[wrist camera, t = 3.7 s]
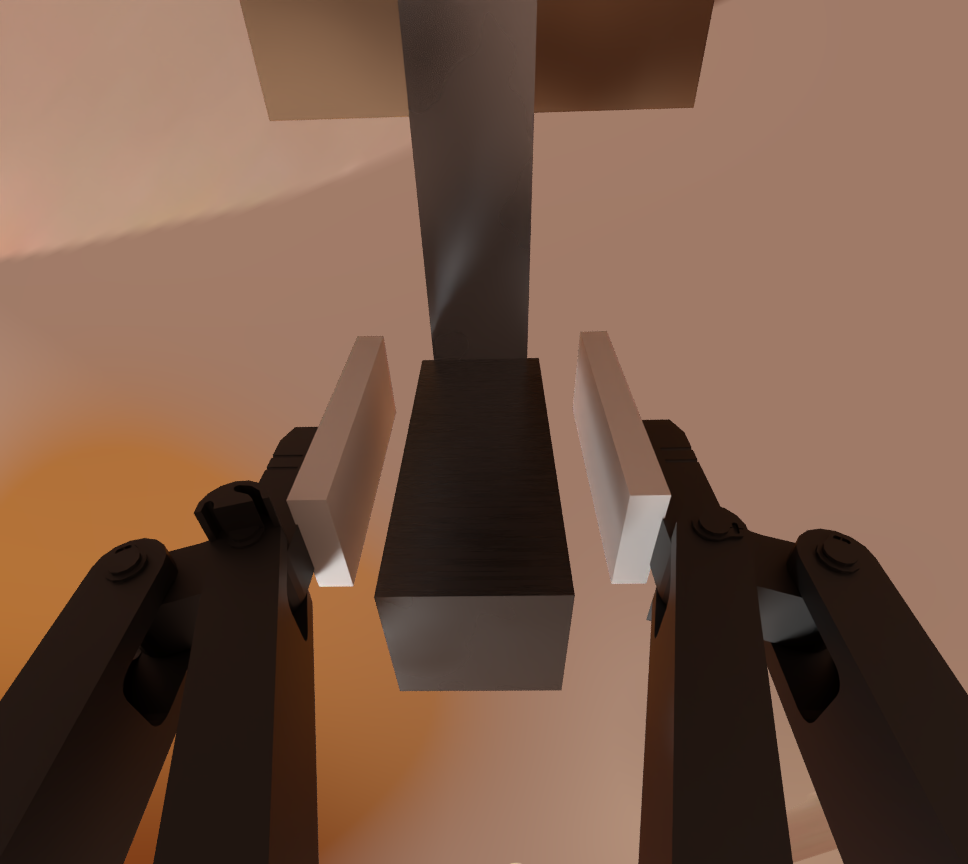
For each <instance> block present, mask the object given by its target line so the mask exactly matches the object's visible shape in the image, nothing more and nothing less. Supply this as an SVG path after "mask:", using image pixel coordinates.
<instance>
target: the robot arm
mask: <svg viewBox="0 0 968 864" xmlns="http://www.w3.org/2000/svg"><path fill="white" fill-rule="evenodd" d="M573 413H574V417H575V421H576V426H577V431H578V435H579V440H580V444H581V449H582V453H583V458H584V462H585V467H586V471H587V476H588V480H589V485H590V489H591V494H592V498H593V503H594V507H595V512H596V516H597V521H598V526H599V530H600V534H601V539H602V544H603V548H604V553H605V557H606V562H607V566H608V571H609V575H610V579H611V584H636V583H641V584H642V583H646V582H647V579H648V575H649V572H650V568H651V570H652V574H653V577H654V580H655V583H656V590H655V594H654V597H653V600H652V603H651V606H650V610H649V613H648V616H647V620H649V621H651V639H650V657H649V675H648V695H647V713H646V731H645V732H646V733H645V752H644V769H643V787H642V806H641V826H640V844H639V863H638V864H793V861H792V853H791V845H790V838H789V830H788V823H787V815H786V807H785V800H784V792H783V784H782V777H781V770H780V761H779V754H778V747H777V739H776V731H775V723H774V716H773V708H772V700H771V694H770V686H769V677H768V670H767V667H768V669H769V672H770V674H771V677H772V680H773V682H774V685H775V687H776V690H777V692H778V695H779V698H780V700H781V703H782V705H783V708H784V711H785V713H786V716H787V718H788V721H789V724H790V726H791V729H792V731H793V734H794V737H795V739H796V741H797V744H798V747H799V749H800V752H801V754H802V757H803V760H804V762H805V765H806V767H807V770H808V773H809V775H810V778H811V780H812V783H813V785H814V788H815V791H816V793H817V796H818V798H819V801H820V804H821V806H822V809H823V811H824V814H825V817H826V819H827V822H828V824H829V827H830V829H831V832H832V835H833V837H834V840H835V842H836V845H837V848H838V850H839V852H840V855H841V858H842V860H843V863H844V864H968V695H967V693H966V691H965V690H964V689H963V687H962V686H961V684H960V683H959V681H958V680H957V678H956V677H955V675H954V674H953V672H952V671H951V669H950V668H949V666H948V665H947V663H946V662H945V660H944V659H943V657H942V656H941V654H940V653H939V652H938V650H937V648H936V647H935V645H934V644H933V643H932V641H931V639H930V638H929V637H928V635H927V634H926V632H925V631H924V629H923V628H922V626H921V625H920V623H919V622H918V620H917V619H916V617H915V616H914V614H913V613H912V611H911V610H910V608H909V607H908V605H907V604H906V602H905V601H904V599H903V598H902V596H901V595H900V594H899V592H898V590H897V589H896V588H895V586H894V584H893V583H892V582H891V580H890V579H889V577H888V576H887V574H886V573H885V571H884V570H883V568H882V567H881V565H880V564H879V562H878V561H877V559H876V558H875V557H874V556H873V555H872V554H871V553H870V551H869V550H868V549H867V548H866V547H865V546H863V545H862V544H860V543H859V542H857V541H856V540H854V539H853V538H851V537H849V536H847V535H844V534H841V533H839V532H836V531H831V530H825V529H814V530H808V531H806V532H804V533H803V534H801V535H800V536H799V537H798V539H797V541H796V543H793V542H789V541H785V540H780V539H776V538H772V537H768V536H763V535H760V534H757V533H754V532H751V531H749V530H748V529H747V527H746V525H745V524H744V523H743V522H742V521H741V520H740V518H739V517H738V516H737V515H735V514H733V513H732V512H730V511H728V510H727V509H725V508H722V507H720V505H719V503H718V501H717V499H716V497H715V494H714V492H713V490H712V488H711V486H710V484H709V482H708V480H707V478H706V476H705V474H704V472H703V470H702V468H701V466H700V464H699V462H697V458H696V456H695V453H694V451H693V450H691V446H690V443H689V441H688V439H687V437H686V435H685V433H684V432H683V431H682V430H681V429H680V428H679V427H677V426H676V425H675V424H674V423H673V422H672V421H670V420H642V419H641V417H640V414H639V412H638V409H637V407H636V404H635V402H634V399H633V397H632V394H631V392H630V389H629V386H628V384H627V382H626V379H625V376H624V374H623V371H622V369H621V366H620V364H619V361H618V358H617V356H616V354H615V351H614V348H613V346H612V343H611V341H610V338H609V336H608V333H607V331H599V332H580V340H579V350H578V360H577V371H576V381H575V391H574V401H573ZM395 414H396V409H395V403H394V397H393V391H392V385H391V379H390V373H389V367H388V361H387V355H386V349H385V343H384V337H383V336H360V337H357V339H356V341H355V344H354V346H353V348H352V350H351V353H350V355H349V357H348V360H347V362H346V364H345V366H344V369H343V371H342V374H341V376H340V378H339V380H338V383H337V385H336V387H335V390H334V392H333V394H332V397H331V399H330V401H329V403H328V406H327V408H326V410H325V413H324V415H323V417H322V420H321V422H320V424H319V426H318V427H295V428H294V429H293V430H292V431H291V432H289V433H288V434H287V435H286V436H285V437H284V438H283V439H282V440H280V442H279V444H278V446H277V448H276V450H275V452H274V454H273V458H271V460H270V462H269V464H268V466H267V470H265V472H264V474H263V475H262V478H261V479H260V481H259V483H257V482H253V481H249V480H248V481H235V482H232V483H229V484H226V485H223V486H220V487H219V488H217V489H215V490H213V491H212V492H210V493H208V494H207V496H205V497H204V498H203V499H202V500H201V501H200V502H199V503H198V505H197V507H196V509H195V512H194V514H195V516H196V518H197V520H198V521H199V523H200V525H201V527H202V529H203V530H204V532H205V534H206V536H207V537H208V539H209V541H206V542H203V543H200V544H197V545H193V546H189V547H185V548H181V549H177V550H174V551H170V552H168V550H167V549H166V547H165V546H164V544H162V543H161V542H159V541H158V540H155V539H147V538H143V539H139V540H133V541H129V542H127V543H124V544H122V545H120V546H117V547H115V548H114V549H112V550H111V551H109V552H108V553H107V554H105V555H103V556H102V557H101V558H100V559H99V560H98V561H97V562H96V564H95V565H94V566H93V567H92V568H91V570H90V571H89V572H88V574H87V576H86V577H85V578H84V580H83V581H82V582H81V584H80V585H79V587H78V588H77V590H76V591H75V593H74V594H73V596H72V597H71V599H70V600H69V602H68V603H67V604H66V606H65V608H64V609H63V610H62V612H61V613H60V615H59V616H58V618H57V619H56V620H55V622H54V623H53V625H52V626H51V628H50V629H49V631H48V632H47V634H46V635H45V637H44V638H43V639H42V641H41V642H40V644H39V645H38V647H37V648H36V650H35V651H34V653H33V654H32V655H31V657H30V659H29V660H28V661H27V663H26V664H25V666H24V667H23V669H22V670H21V672H20V673H19V675H18V676H17V678H16V679H15V680H14V682H13V683H12V685H11V686H10V688H9V689H8V691H7V692H6V693H5V695H4V697H3V698H2V699H1V701H0V864H123V863H124V861H125V858H126V856H127V853H128V851H129V848H130V846H131V843H132V841H133V838H134V836H135V833H136V831H137V828H138V826H139V823H140V821H141V819H142V816H143V814H144V811H145V809H146V806H147V803H148V801H149V798H150V796H151V794H152V791H153V789H154V786H155V783H156V781H157V779H158V776H159V774H160V771H161V769H162V766H163V764H164V761H165V759H166V756H167V754H168V751H169V749H170V747H171V744H172V742H173V739H174V737H175V734H176V738H175V743H174V749H173V755H172V760H171V766H170V772H169V777H168V783H167V789H166V794H165V800H164V806H163V812H162V817H161V822H160V828H159V834H158V839H157V845H156V851H155V856H154V863H153V864H319V859H318V817H317V775H316V735H315V695H314V694H315V692H314V653H313V651H314V650H313V609H312V600H311V597H310V593H309V591H308V588H309V584H310V582H311V578H312V575H313V572H314V574H315V576H316V579H317V582H318V584H319V586H320V587H321V586H322V587H325V586H353V585H354V581H355V577H356V573H357V569H358V565H359V561H360V557H361V552H362V549H363V545H364V541H365V536H366V533H367V528H368V524H369V520H370V516H371V512H372V508H373V504H374V500H375V496H376V492H377V488H378V484H379V480H380V476H381V471H382V467H383V463H384V459H385V455H386V451H387V447H388V443H389V439H390V435H391V431H392V426H393V422H394V419H395Z"/></svg>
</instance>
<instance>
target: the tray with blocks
mask: <svg viewBox="0 0 968 864" xmlns="http://www.w3.org/2000/svg"><path fill="white" fill-rule="evenodd" d="M240 4H241V8H242V12H243V16H244V20H245V24H246V28H247V32H248V36H249V40H250V44H251V48H252V52H253V56H254V60H255V64H256V68H257V72H258V76H259V80H260V84H261V88H262V92H263V96H264V100H265V104H266V108H267V112H268V116H269V120H270V121H284V120H316V119H348V118H379V117H409V109H408V99H407V89H406V79H405V69H404V60H403V50H402V40H401V30H400V20H399V10H398V1H397V0H240ZM713 4H714V0H537V24H536V59H535V95H534V113H537V112H567V111H568V112H569V111H601V110H631V109H665V108H693V107H694V102H695V97H696V92H697V87H698V81H699V77H700V71H701V66H702V61H703V56H704V51H705V46H706V40H707V34H708V30H709V25H710V19H711V14H712V9H713Z"/></svg>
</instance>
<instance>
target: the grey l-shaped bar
mask: <svg viewBox="0 0 968 864" xmlns="http://www.w3.org/2000/svg"><path fill="white" fill-rule="evenodd" d="M397 1H398V10H399V20H400V30H401V40H402V50H403V60H404V69H405V79H406V89H407V99H408V109H409V119H410V129H411V138H412V148H413V158H414V168H415V178H416V187H417V197H418V207H419V217H420V227H421V237H422V247H423V256H424V266H425V276H426V286H427V296H428V304H429V305H428V306H429V316H430V325H431V335H432V345H433V355H434V360H423V361H422V365H421V370H420V375H419V380H418V385H417V390H416V395H415V400H414V405H413V410H412V415H411V419H410V424H409V429H408V434H407V439H406V444H405V448H404V454H403V458H402V463H401V468H400V473H399V478H398V483H397V488H396V493H395V498H394V502H393V507H392V512H391V517H390V522H389V527H388V532H387V537H386V542H385V547H384V551H383V556H382V561H381V566H380V571H379V576H378V581H377V586H376V591H375V596H374V598H375V602H376V606H377V609H378V613H379V617H380V620H381V624H382V627H383V631H384V635H385V638H386V642H387V645H388V649H389V652H390V656H391V660H392V663H393V667H394V670H395V674H396V678H397V681H398V685H399V689H400V691H497V690H498V691H500V690H502V691H503V690H561V689H562V682H563V675H564V667H565V660H566V653H567V646H568V639H569V631H570V625H571V618H572V610H573V603H574V596H575V595H574V588H573V581H572V574H571V568H570V561H569V554H568V548H567V542H566V535H565V528H564V522H563V515H562V508H561V502H560V495H559V489H558V482H557V475H556V469H555V463H554V456H553V449H552V444H551V443H552V442H551V436H550V429H549V423H548V417H547V409H546V403H545V396H544V390H543V383H542V376H541V370H540V364H539V358H527V342H528V340H527V339H528V306H529V269H530V235H531V199H532V164H533V130H534V95H535V59H536V24H537V0H397Z"/></svg>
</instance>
